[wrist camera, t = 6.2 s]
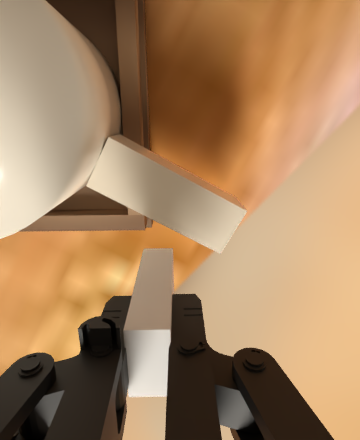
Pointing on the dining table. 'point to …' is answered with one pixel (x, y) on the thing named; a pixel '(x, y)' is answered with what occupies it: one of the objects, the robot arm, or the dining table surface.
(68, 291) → the dining table surface
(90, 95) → the white pot with handle
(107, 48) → the brown flat rectangular tray
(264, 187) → the dining table surface
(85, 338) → the robot arm
